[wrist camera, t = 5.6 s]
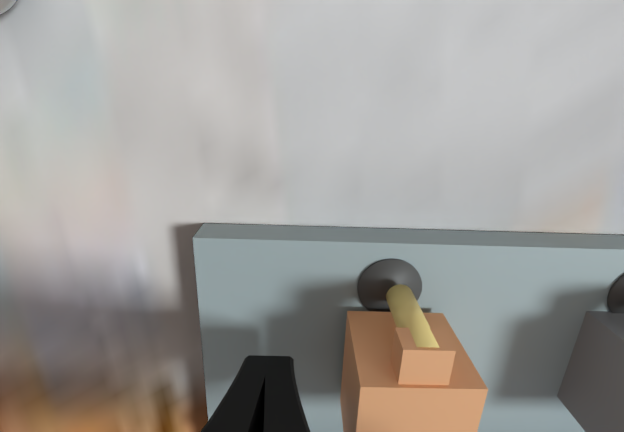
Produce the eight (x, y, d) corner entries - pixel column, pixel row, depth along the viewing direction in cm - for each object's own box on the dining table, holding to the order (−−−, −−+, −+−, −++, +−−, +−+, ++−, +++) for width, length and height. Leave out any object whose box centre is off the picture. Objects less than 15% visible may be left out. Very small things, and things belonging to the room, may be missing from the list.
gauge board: (681, 236, 12) (864, 309, 8) (592, 449, 15) (689, 574, 11) (203, 223, 12) (150, 293, 8) (220, 444, 15) (188, 571, 11)
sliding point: (448, 282, 11) (498, 351, 8) (426, 400, 12) (461, 493, 10) (349, 279, 11) (364, 348, 8) (339, 399, 12) (349, 492, 10)
